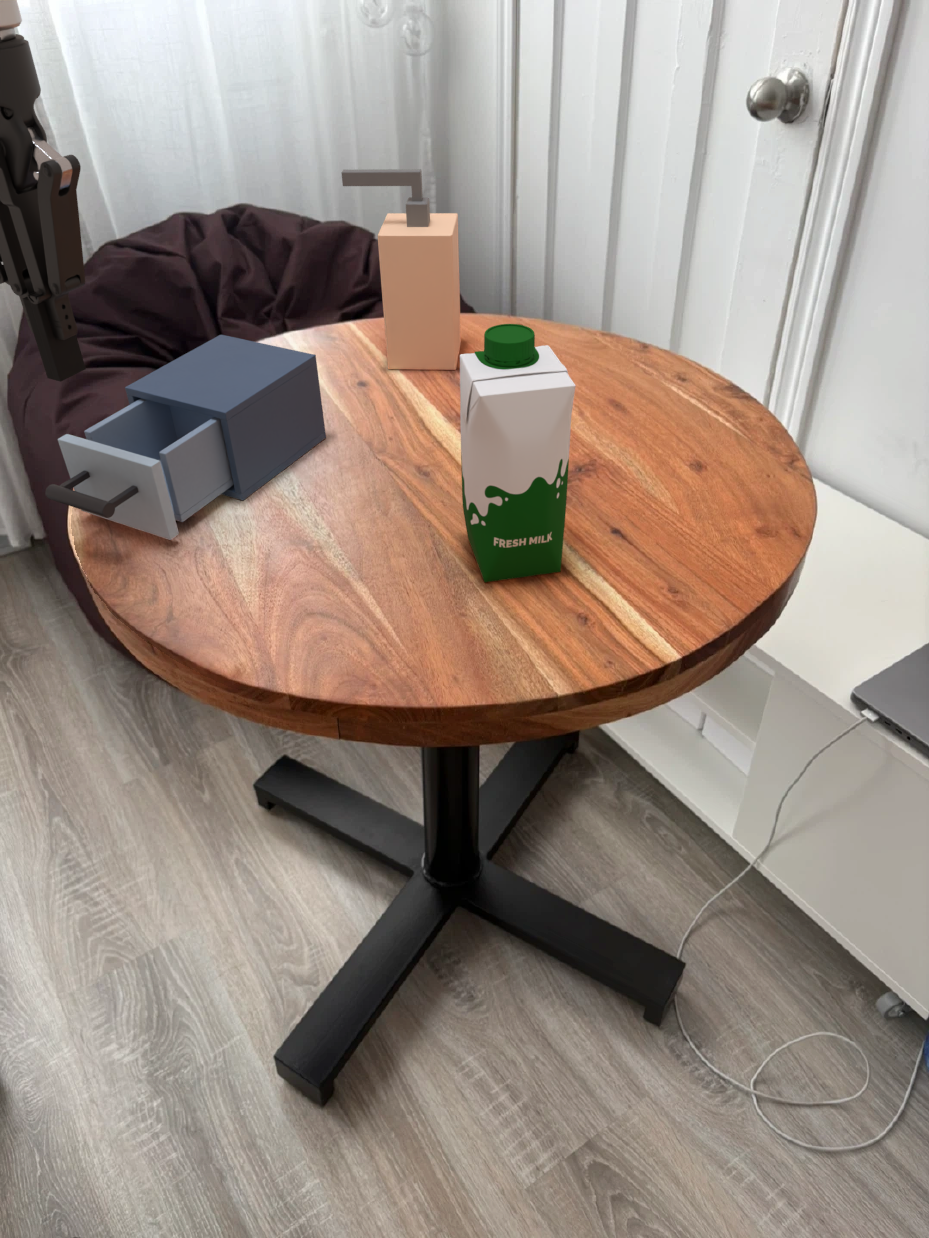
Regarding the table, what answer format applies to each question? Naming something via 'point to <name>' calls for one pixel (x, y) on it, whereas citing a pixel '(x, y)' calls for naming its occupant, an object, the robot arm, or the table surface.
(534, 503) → the milk carton
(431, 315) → the soap dispenser
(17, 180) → the robot arm
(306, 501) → the table surface
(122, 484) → the drawer
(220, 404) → the blue drawer cabinet
